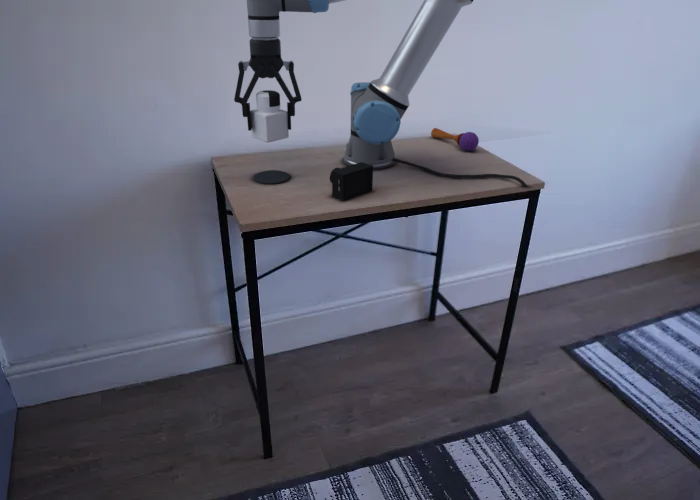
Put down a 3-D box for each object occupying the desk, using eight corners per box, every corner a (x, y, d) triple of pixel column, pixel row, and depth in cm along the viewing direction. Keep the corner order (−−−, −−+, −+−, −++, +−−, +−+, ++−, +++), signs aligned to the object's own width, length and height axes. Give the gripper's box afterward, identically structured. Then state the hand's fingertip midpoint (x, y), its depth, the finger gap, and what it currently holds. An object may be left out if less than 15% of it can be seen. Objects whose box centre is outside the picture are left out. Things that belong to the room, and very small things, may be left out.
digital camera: (358, 185, 141) (358, 160, 137) (372, 191, 137) (373, 165, 134) (328, 195, 134) (328, 169, 131) (343, 201, 131) (343, 174, 128)
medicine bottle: (272, 132, 144) (270, 87, 139) (289, 138, 140) (287, 92, 134) (251, 137, 140) (248, 91, 134) (267, 143, 136) (264, 95, 130)
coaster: (295, 173, 148) (295, 172, 148) (281, 186, 140) (281, 184, 139) (263, 170, 151) (262, 168, 150) (247, 181, 142) (247, 180, 142)
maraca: (443, 124, 182) (484, 134, 166) (439, 141, 184) (480, 153, 168) (429, 123, 178) (470, 133, 163) (426, 141, 180) (466, 152, 165)
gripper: (309, 36, 133) (311, 124, 144) (219, 36, 130) (227, 125, 141) (311, 40, 126) (313, 131, 137) (216, 39, 124) (225, 133, 134)
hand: (269, 128), depth 139 cm, fingers closed on medicine bottle, 10 cm apart
